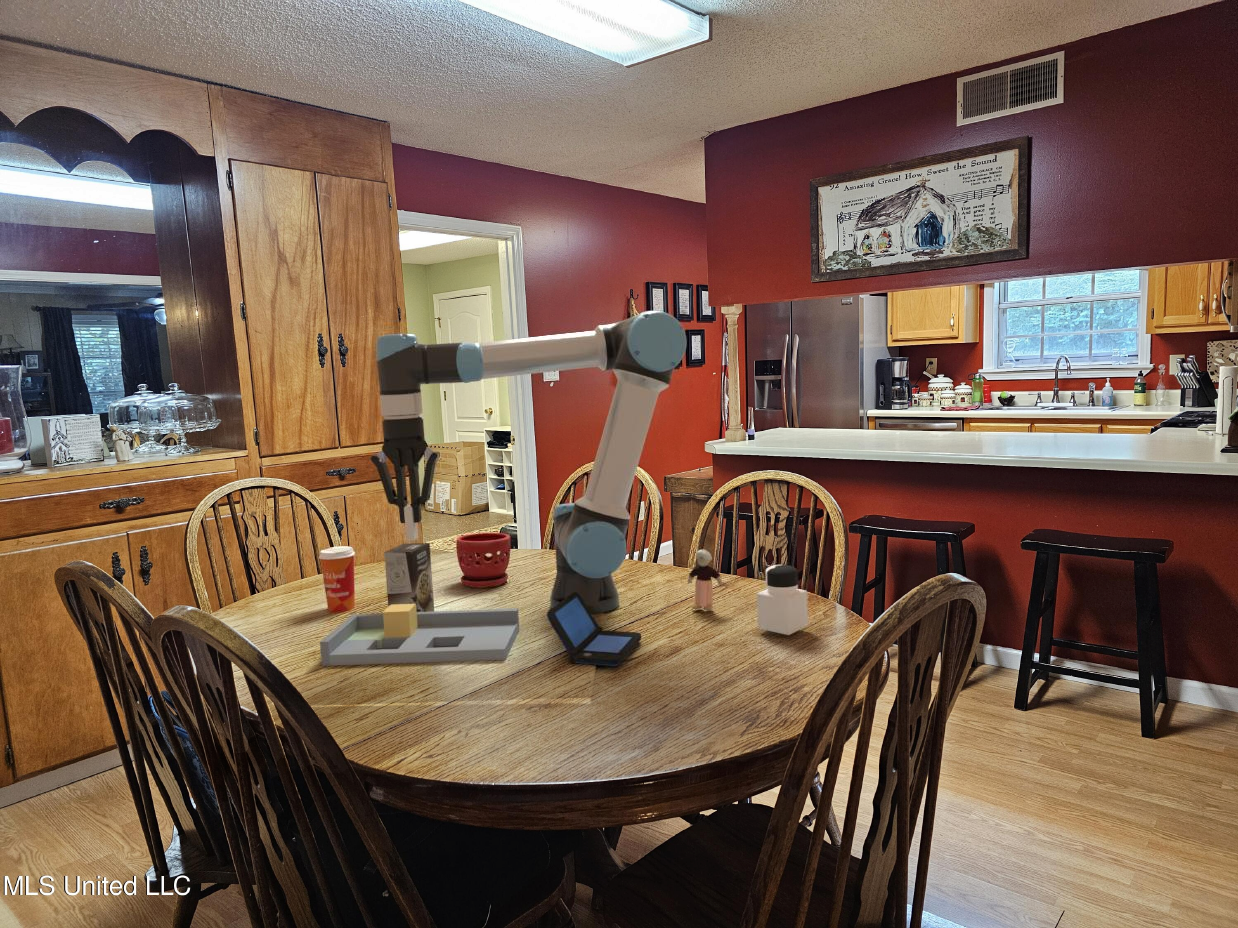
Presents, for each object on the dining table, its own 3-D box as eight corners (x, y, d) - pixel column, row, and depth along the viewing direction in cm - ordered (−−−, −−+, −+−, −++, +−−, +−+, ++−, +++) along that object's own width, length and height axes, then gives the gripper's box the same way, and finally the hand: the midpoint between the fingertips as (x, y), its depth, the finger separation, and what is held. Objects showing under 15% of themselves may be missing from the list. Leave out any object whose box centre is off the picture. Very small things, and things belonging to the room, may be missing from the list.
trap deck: (519, 630, 161) (518, 608, 160) (505, 659, 144) (503, 635, 144) (354, 635, 162) (352, 614, 161) (322, 665, 145) (319, 641, 145)
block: (392, 629, 159) (417, 628, 158) (384, 637, 154) (410, 636, 153) (390, 604, 158) (415, 603, 158) (382, 612, 153) (408, 611, 153)
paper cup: (316, 614, 178) (310, 552, 177) (340, 604, 185) (334, 545, 184) (344, 616, 175) (338, 554, 174) (367, 606, 182) (362, 546, 181)
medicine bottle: (808, 625, 155) (807, 565, 154) (789, 635, 150) (787, 573, 149) (776, 619, 160) (775, 560, 159) (756, 628, 155) (755, 568, 154)
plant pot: (508, 589, 192) (505, 540, 190) (453, 591, 192) (450, 542, 191) (516, 575, 205) (513, 529, 203) (465, 577, 205) (461, 531, 204)
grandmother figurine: (686, 610, 169) (683, 551, 167) (688, 605, 173) (686, 547, 171) (722, 611, 167) (720, 551, 166) (724, 605, 171) (722, 547, 169)
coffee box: (417, 628, 165) (411, 551, 163) (388, 627, 166) (382, 551, 164) (436, 615, 174) (430, 542, 172) (408, 614, 175) (403, 542, 173)
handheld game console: (618, 668, 138) (616, 616, 137) (547, 663, 142) (544, 613, 141) (643, 638, 153) (641, 591, 152) (577, 634, 157) (575, 588, 156)
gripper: (441, 414, 155) (450, 534, 158) (374, 417, 155) (385, 536, 158) (431, 416, 148) (441, 542, 150) (361, 420, 148) (372, 545, 151)
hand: (412, 539), depth 154 cm, fingers closed
